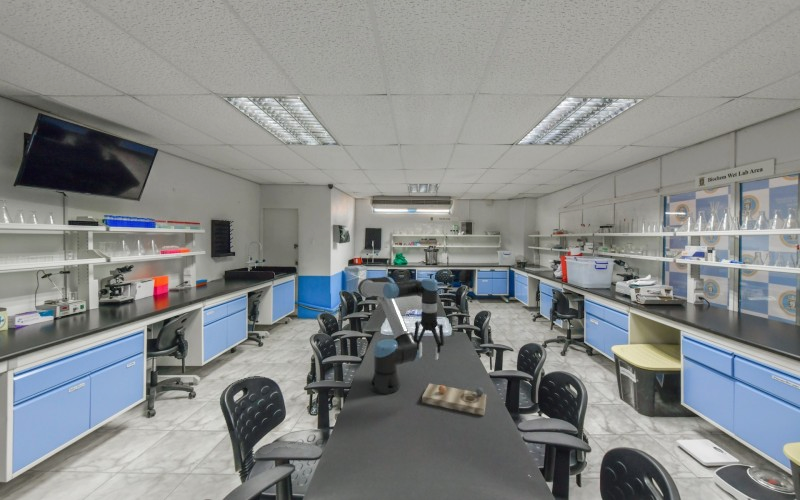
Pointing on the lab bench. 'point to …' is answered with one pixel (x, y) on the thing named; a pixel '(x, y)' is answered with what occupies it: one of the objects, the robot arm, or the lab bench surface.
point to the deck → (455, 399)
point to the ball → (442, 389)
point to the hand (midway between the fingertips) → (428, 357)
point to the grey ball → (479, 391)
